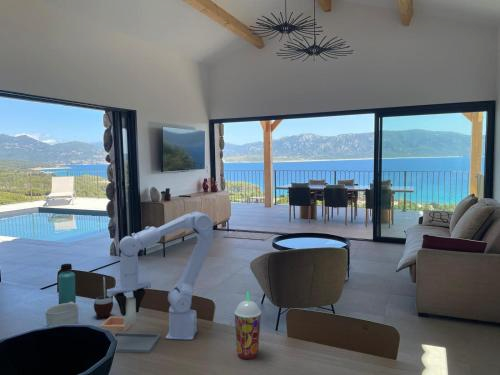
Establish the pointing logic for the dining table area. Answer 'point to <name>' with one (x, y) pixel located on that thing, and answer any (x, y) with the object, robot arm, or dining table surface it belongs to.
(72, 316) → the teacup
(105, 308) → the mate gourd
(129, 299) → the peg
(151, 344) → the tray
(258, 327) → the smoothie
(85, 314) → the dining table surface
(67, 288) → the beverage bottle
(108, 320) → the shallow square box
